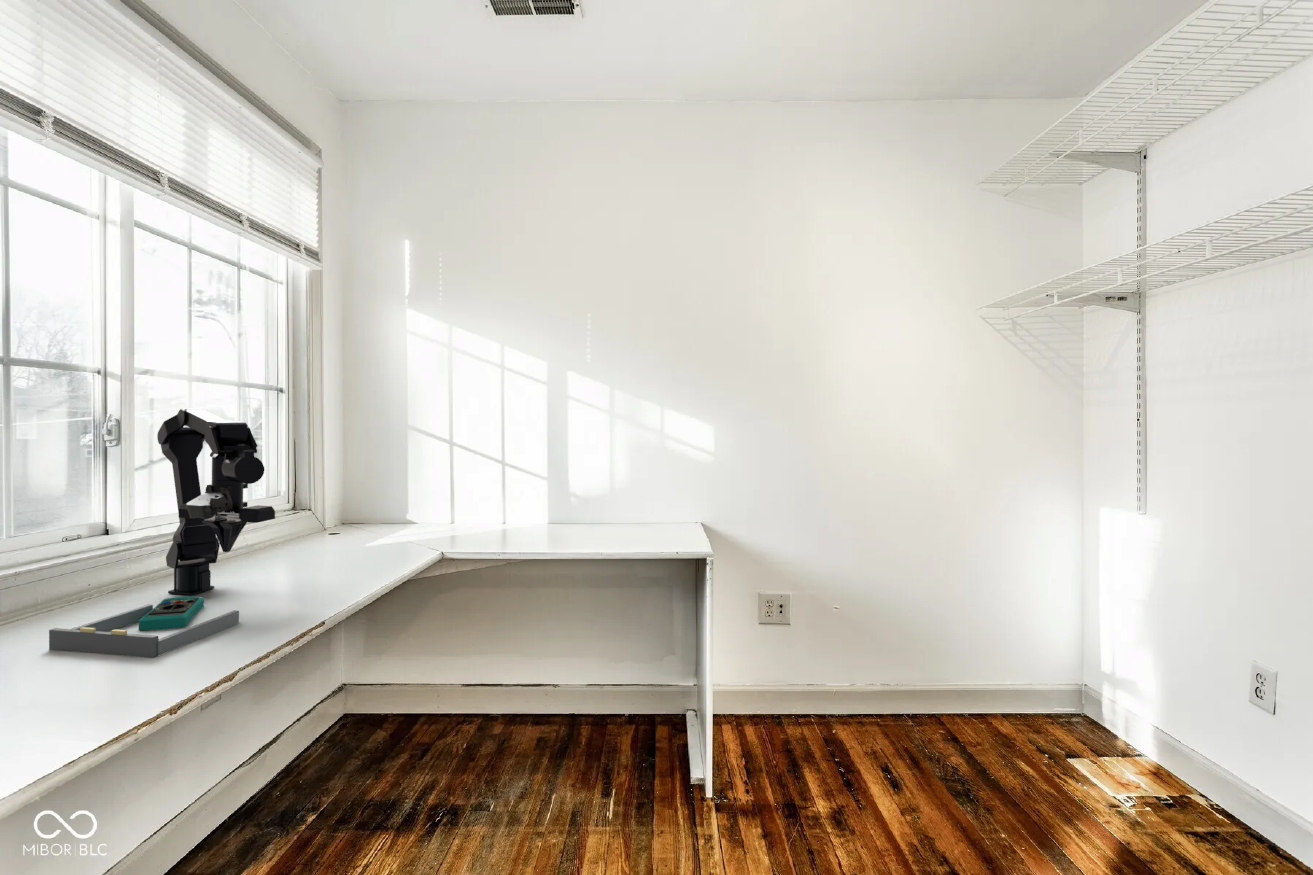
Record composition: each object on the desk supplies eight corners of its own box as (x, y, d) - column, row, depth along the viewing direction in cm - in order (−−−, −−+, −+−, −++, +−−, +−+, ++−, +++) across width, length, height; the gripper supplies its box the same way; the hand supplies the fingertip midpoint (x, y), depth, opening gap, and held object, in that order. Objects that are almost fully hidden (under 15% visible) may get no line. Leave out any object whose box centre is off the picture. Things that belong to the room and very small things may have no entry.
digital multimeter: (205, 608, 142) (205, 594, 142) (185, 629, 128) (185, 614, 128) (162, 611, 139) (162, 596, 139) (137, 634, 125) (137, 617, 125)
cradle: (49, 649, 115) (49, 626, 115) (148, 616, 134) (148, 596, 134) (153, 657, 112) (153, 634, 112) (239, 622, 132) (239, 602, 132)
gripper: (155, 480, 135) (154, 556, 136) (237, 485, 132) (236, 563, 133) (200, 475, 146) (199, 546, 147) (277, 480, 143) (276, 551, 144)
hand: (226, 551), depth 142 cm, fingers closed
